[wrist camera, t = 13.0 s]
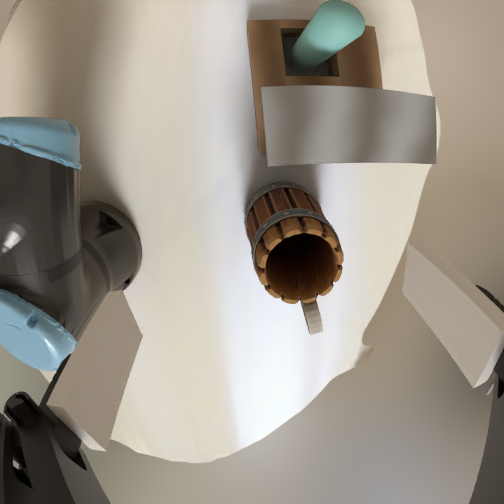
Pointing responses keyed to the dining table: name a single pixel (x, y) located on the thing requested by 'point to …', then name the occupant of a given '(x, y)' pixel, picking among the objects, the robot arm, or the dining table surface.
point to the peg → (326, 34)
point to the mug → (293, 247)
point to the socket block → (334, 106)
